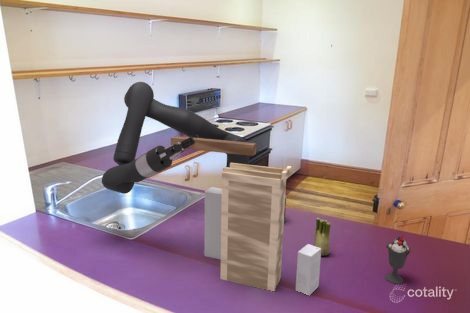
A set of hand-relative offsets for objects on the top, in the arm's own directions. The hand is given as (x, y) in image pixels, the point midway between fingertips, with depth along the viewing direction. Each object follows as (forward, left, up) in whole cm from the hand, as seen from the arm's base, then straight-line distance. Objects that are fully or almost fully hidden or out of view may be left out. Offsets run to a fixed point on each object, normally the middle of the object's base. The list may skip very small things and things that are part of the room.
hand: (195, 138), depth 105 cm
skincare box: (+3, +36, -39) cm, 53 cm away
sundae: (-12, +59, -39) cm, 72 cm away
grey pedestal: (-4, +6, -39) cm, 39 cm away
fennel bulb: (-19, +37, -39) cm, 57 cm away
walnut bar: (0, +5, -3) cm, 6 cm away
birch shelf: (+5, +20, -39) cm, 44 cm away
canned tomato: (-38, +16, -39) cm, 57 cm away
